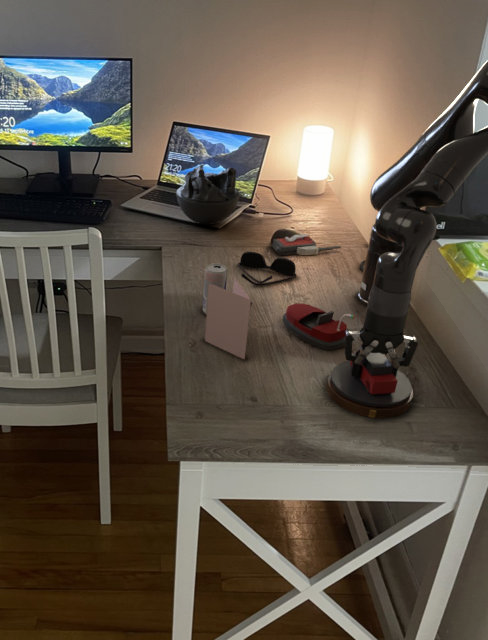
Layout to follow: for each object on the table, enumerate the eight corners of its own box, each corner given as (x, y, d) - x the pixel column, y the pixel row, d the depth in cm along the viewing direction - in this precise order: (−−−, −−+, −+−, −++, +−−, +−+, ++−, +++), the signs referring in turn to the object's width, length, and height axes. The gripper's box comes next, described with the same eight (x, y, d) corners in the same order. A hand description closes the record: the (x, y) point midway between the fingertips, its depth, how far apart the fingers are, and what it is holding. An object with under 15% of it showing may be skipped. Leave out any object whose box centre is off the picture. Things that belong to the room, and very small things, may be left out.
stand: (325, 365, 150) (326, 358, 149) (405, 375, 147) (407, 367, 146) (327, 412, 135) (329, 404, 134) (416, 424, 132) (419, 416, 131)
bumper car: (303, 312, 171) (308, 276, 165) (363, 348, 156) (371, 310, 151) (273, 322, 166) (278, 285, 161) (332, 360, 152) (340, 321, 147)
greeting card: (248, 359, 152) (254, 299, 144) (216, 362, 150) (221, 302, 143) (232, 333, 161) (238, 276, 153) (202, 336, 160) (206, 278, 152)
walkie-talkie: (279, 259, 198) (341, 253, 202) (281, 245, 196) (344, 239, 200) (267, 247, 205) (327, 241, 210) (269, 233, 203) (329, 228, 207)
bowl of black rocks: (163, 223, 220) (165, 166, 211) (197, 207, 234) (200, 152, 224) (215, 239, 210) (219, 179, 200) (248, 220, 224) (253, 164, 214)
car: (425, 404, 134) (432, 377, 131) (348, 409, 132) (353, 382, 129) (390, 360, 148) (396, 335, 144) (319, 364, 146) (324, 339, 143)
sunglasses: (222, 284, 183) (224, 267, 181) (239, 264, 195) (241, 248, 192) (283, 297, 177) (286, 280, 175) (297, 275, 189) (299, 259, 186)
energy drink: (225, 307, 172) (229, 264, 166) (221, 317, 168) (225, 273, 161) (204, 305, 173) (207, 261, 167) (200, 314, 169) (203, 270, 163)
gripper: (351, 311, 128) (337, 385, 137) (430, 319, 126) (411, 393, 135) (348, 294, 135) (335, 365, 143) (423, 300, 133) (406, 372, 141)
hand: (372, 378), depth 139 cm, fingers closed on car, 6 cm apart
